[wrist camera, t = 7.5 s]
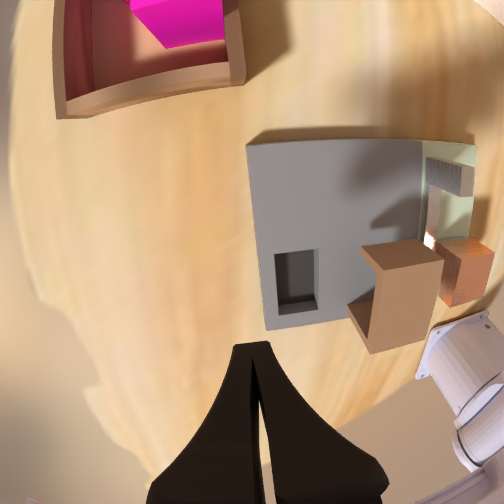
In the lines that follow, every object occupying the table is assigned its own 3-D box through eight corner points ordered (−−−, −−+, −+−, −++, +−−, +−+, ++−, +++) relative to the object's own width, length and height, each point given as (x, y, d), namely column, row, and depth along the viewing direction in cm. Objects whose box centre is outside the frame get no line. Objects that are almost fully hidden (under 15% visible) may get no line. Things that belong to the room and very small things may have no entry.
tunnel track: (464, 143, 18) (521, 157, 12) (448, 284, 23) (487, 322, 18) (245, 144, 18) (252, 154, 12) (264, 319, 23) (274, 379, 17)
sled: (474, 158, 17) (514, 170, 13) (459, 276, 21) (488, 302, 17) (401, 155, 17) (441, 166, 13) (391, 291, 21) (418, 324, 17)
